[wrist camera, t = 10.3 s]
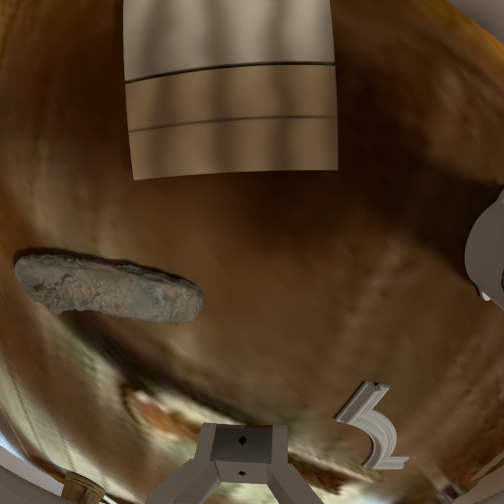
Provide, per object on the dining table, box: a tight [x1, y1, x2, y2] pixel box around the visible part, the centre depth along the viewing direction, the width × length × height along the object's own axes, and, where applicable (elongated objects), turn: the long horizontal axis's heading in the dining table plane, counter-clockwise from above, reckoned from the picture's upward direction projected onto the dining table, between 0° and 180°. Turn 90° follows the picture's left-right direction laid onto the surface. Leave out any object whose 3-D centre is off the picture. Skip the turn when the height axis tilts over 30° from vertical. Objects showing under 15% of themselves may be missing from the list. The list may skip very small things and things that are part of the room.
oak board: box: [125, 65, 338, 180], centre depth 33 cm, size 24×12×3 cm, turn 93°
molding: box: [335, 381, 409, 469], centre depth 56 cm, size 42×12×3 cm, turn 27°
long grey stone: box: [15, 254, 204, 325], centre depth 44 cm, size 35×5×10 cm
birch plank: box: [123, 0, 335, 82], centre depth 28 cm, size 24×12×2 cm, turn 93°
